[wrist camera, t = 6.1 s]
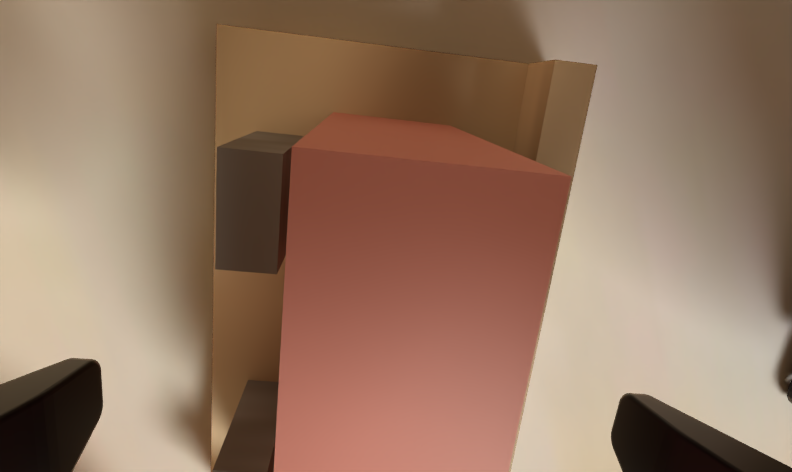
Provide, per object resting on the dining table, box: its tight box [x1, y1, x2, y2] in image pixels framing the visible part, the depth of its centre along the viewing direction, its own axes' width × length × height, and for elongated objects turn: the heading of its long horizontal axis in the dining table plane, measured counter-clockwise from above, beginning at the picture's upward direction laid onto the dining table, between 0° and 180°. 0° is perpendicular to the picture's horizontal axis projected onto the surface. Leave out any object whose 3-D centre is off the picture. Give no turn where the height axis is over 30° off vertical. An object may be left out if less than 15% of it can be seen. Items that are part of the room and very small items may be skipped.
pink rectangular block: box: [274, 112, 572, 472], centre depth 9 cm, size 9×2×6 cm, turn 174°
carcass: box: [211, 24, 597, 472], centre depth 11 cm, size 7×12×4 cm, turn 174°
